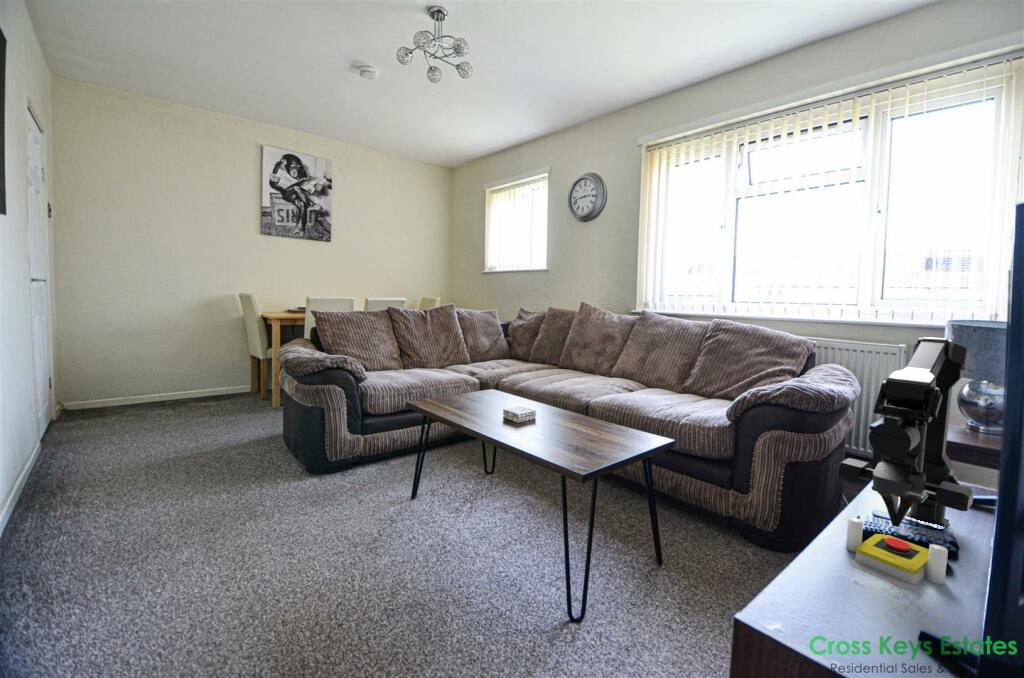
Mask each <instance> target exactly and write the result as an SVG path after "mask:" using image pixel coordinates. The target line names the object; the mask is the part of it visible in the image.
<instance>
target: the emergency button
mask: <svg viewBox="0 0 1024 678" xmlns="http://www.w3.org/2000/svg"><path fill="white" fill-rule="evenodd" d="M885 534H886V533H884V534H876V533H875V534H873V535H872V536H870V537H869V538H868V539H866V540H864V541H862V544H861V545H859V546H858V547H857V550H856V551H857V552H855V556H854V557H855V558H854V559H852V560H851V561H850V563H849V565H851V566H852V567H853V568H855V569H858V570H860V571H863V572H865V573H867V574H869V575H872V576H874V577H877V578H879V579H881V580H884V581H886V582H888V583H890V584H893V585H895V586H897V587H899V588H902V589H905V590H909V591H911V590H912V591H913V590H914V589H915V588H916V587H917V586H918V585H919V584H920V583H921V582H922V581H923V580H924V579H925V578H926V575H927V565H928V555H929V548H926V547H923V546H920V545H917V544H915V543H912V542H909V541H905V540H903V539H900V538H898V537H895V536H892V535H889V534H887V535H885Z"/></svg>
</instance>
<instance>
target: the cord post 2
mask: <svg viewBox="0 0 1024 678" xmlns="http://www.w3.org/2000/svg"><path fill="white" fill-rule="evenodd" d="M928 549H929V555H928V565H927V575H926V577H925V578H926V579H927V580H928V581H930V582H932V583H935V584H939V585H944V584H945V583H946V582H945V581H946V572H947V563H948V553H949V550H948V549H947V548H946V547H944V546H943V545H939V544H933V543H932V544H929V547H928Z"/></svg>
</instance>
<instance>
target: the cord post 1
mask: <svg viewBox="0 0 1024 678" xmlns="http://www.w3.org/2000/svg"><path fill="white" fill-rule="evenodd" d="M847 519H848V520H847V529H846V545H845V549H847V550H848V551H849V552H852V553H856V552H857V551H856V550H857V547H858V546H859V545H861V544H862V543H863V531H864V521H863V520H862V519H860V518H856V517H848V518H847Z"/></svg>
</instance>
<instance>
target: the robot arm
mask: <svg viewBox="0 0 1024 678" xmlns="http://www.w3.org/2000/svg"><path fill="white" fill-rule="evenodd" d="M970 362H971V353H970V351H969V349H968V348H967V347H965V346H962V345H959V344H957V343H954V341H953V340H952V339H949V338H947V337H946V338H945V337H943V338H942V337H930V336H929V337H928V336H927V337H924V336H923V337H919V338H918V340H917V342H916V343H914V345H913V350H912V354H911V358H910V359H909V361H908V363H907V364H906V365H905V367H904V368H903V369H899V370H894V371H893V372H892V373H891V374H890V375H889V376H888V377H887V378H886V379H885V380H883V381H882V383H881V385H880V388H879V392H878V396H877V398H876V402H875V404H874V408H873V414H876V415H881V416H882V415H883V420H882V422H880V423H879V424H877V425H875V426H874V427H872V429H871V430H870V432H869V433H868V442H869V444H870V445H871V447H872V449H873V450H874V451H875V452H877V453H878V454H880V459H879V460H878V462H877V464H876V466H875V468H874V469H873V468H870V462H867V461H863V460H860V459H856V458H850V457H848V458H845V459H844V460H843V461H841V462H839V463H838V464H837V466H836V473H835V476H836V477H837V478H840V479H844V480H849V481H851V482H855V481H857V480H859V479H860V478H865V479H870V480H872V486H871V490H872V491H874V492H877V493H878V494H879V495H880V496H881V498H882V501H883V502H884V504H885V506H886V510H887V514H888V516H889V519H890V522H891V525H892V526H893V527H897V528H899V527H900V525H901V523H903V520H904V519H905V516H907V517H910V518H914V519H916V520H920V521H924V522H928V523H932V524H937V525H940V526H943V527H945V526H946V527H947V526H948V525H949V523H950V520H949V519H946V509H947V508H950V509H952V510H953V509H954V510H956V511H960V512H968V510H969V509H970V508H971V506H972V505H973V501H974V491H973V489H971V487H970V486H965V485H962V484H960V483H959V482H958V477H957V476H956V475H954V474H955V473H954V471H955V465H954V463H953V462H952V461H951V459H950V458H949V456H948V454H947V451H946V450H947V440H948V439H947V438H948V432H949V422H950V412H951V405H952V393H953V387H955V386H956V385H957V384H958V382H960V381H961V379H963V377H964V376H965V372H966V371H969V368H970V364H971V363H970ZM946 527H945V528H946Z"/></svg>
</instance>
